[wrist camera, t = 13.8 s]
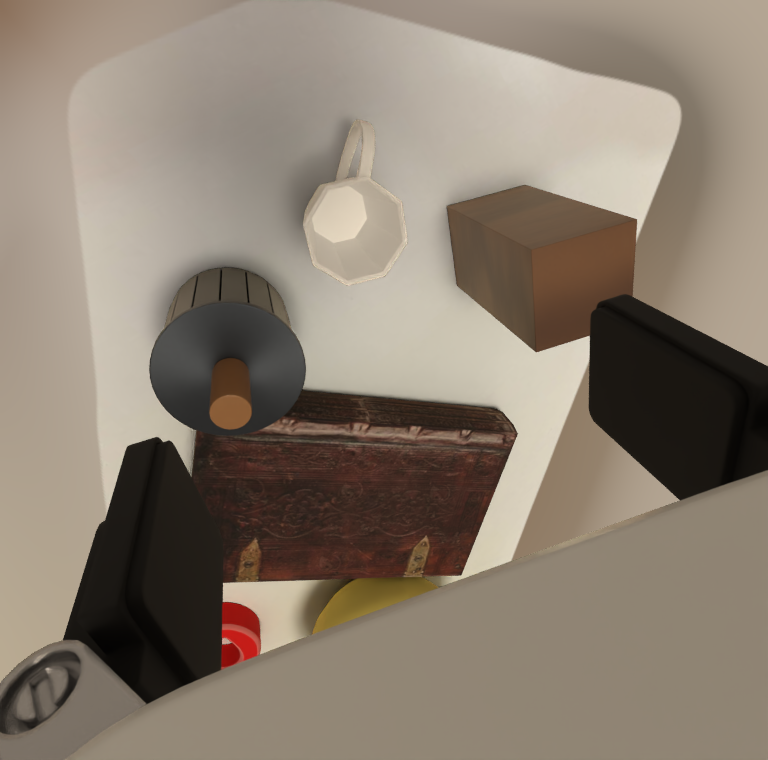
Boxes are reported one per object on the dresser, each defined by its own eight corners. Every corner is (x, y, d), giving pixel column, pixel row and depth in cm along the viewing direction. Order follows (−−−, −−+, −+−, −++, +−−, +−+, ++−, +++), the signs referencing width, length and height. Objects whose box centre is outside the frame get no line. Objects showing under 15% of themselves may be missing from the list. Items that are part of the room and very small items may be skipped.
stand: (446, 206, 42) (531, 250, 30) (525, 184, 43) (637, 219, 31) (456, 285, 46) (536, 352, 34) (529, 264, 47) (631, 322, 35)
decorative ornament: (257, 595, 58) (258, 620, 55) (261, 650, 62) (262, 675, 59) (165, 611, 55) (161, 637, 52) (176, 667, 60) (173, 694, 57)
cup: (284, 247, 40) (295, 279, 34) (302, 106, 36) (319, 109, 29) (369, 261, 43) (396, 293, 36) (396, 129, 38) (432, 137, 32)
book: (497, 406, 53) (520, 433, 49) (445, 542, 61) (461, 575, 57) (201, 378, 44) (198, 409, 40) (184, 543, 52) (180, 583, 47)
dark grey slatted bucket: (149, 285, 39) (131, 328, 32) (267, 253, 40) (276, 288, 33) (196, 385, 44) (189, 443, 37) (300, 354, 45) (314, 404, 38)
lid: (122, 325, 32) (103, 365, 27) (280, 281, 33) (288, 312, 28) (186, 449, 37) (180, 500, 32) (320, 407, 38) (333, 451, 33)
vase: (423, 520, 59) (497, 683, 42) (459, 610, 68) (530, 771, 52) (273, 587, 57) (290, 780, 41) (330, 669, 67) (363, 851, 51)
